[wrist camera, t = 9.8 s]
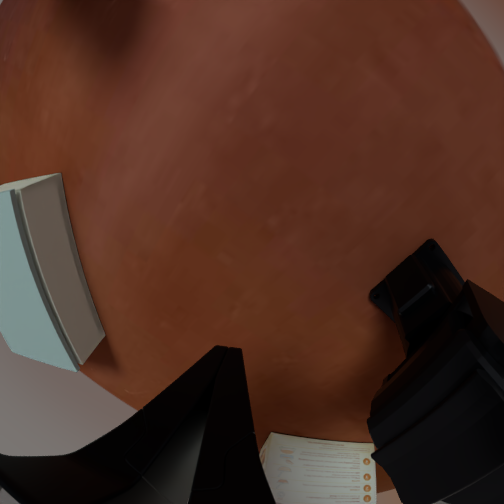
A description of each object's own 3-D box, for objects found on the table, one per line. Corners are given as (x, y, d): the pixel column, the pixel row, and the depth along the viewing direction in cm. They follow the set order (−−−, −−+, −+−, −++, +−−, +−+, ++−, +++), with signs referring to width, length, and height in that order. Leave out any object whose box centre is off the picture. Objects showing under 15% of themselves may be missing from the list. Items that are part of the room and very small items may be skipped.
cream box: (61, 172, 20) (20, 189, 16) (105, 335, 28) (82, 364, 24) (4, 183, 22) (-28, 198, 18) (46, 317, 30) (23, 339, 26)
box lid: (14, 188, 16) (9, 190, 15) (80, 368, 24) (77, 372, 23) (-43, 203, 16) (-47, 205, 16) (14, 348, 24) (12, 351, 24)
